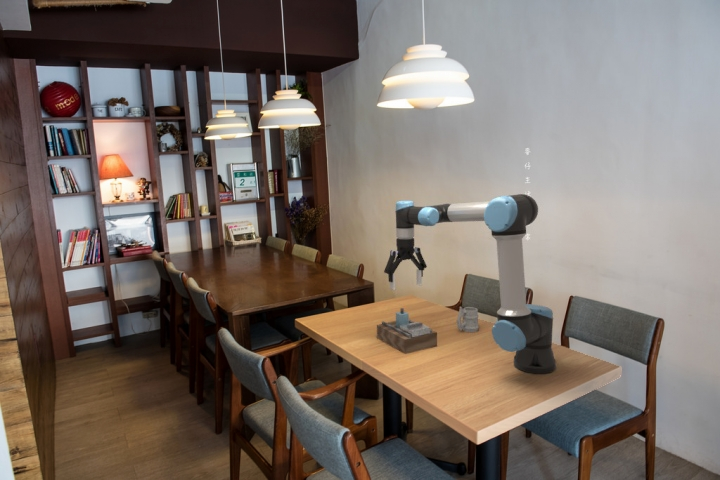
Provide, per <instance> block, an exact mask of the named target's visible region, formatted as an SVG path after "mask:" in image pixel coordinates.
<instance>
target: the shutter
mask: <svg viewBox="0 0 720 480" xmlns="http://www.w3.org/2000/svg"><path fill="white" fill-rule="evenodd" d="M413 322H414V323H409V324H405V325H400V330H402V331H404V332H406V333H408V334H410V335H411V337H415V336H420V335H424V334H429V333H430V329H431V327H430V326H428V325H425V324H424V323H423V322H418V321H413Z"/></svg>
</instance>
